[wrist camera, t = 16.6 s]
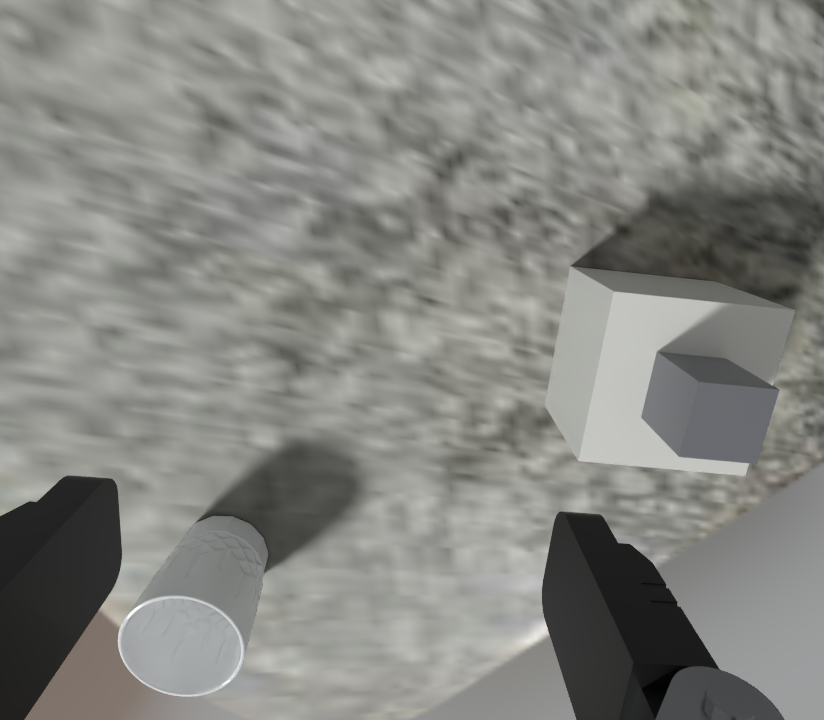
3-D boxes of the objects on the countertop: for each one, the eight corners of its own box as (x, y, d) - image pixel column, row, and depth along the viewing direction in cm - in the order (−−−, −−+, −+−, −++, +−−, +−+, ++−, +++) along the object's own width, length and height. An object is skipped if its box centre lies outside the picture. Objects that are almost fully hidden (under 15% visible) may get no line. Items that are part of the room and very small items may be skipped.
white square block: (570, 266, 41) (650, 312, 28) (715, 281, 41) (862, 334, 28) (544, 405, 44) (605, 506, 31) (680, 417, 44) (797, 522, 31)
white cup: (274, 509, 46) (241, 597, 37) (277, 594, 49) (247, 698, 39) (170, 506, 46) (111, 594, 37) (178, 592, 48) (124, 696, 39)
